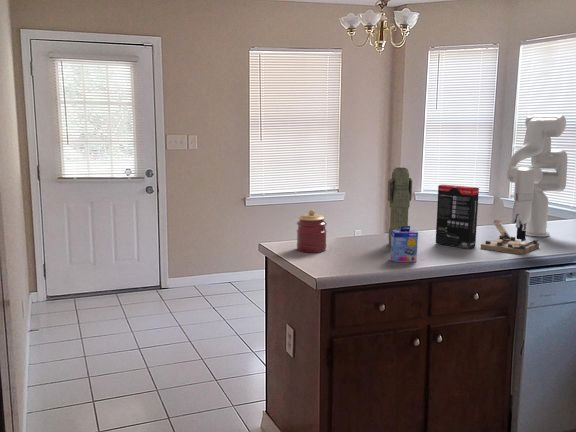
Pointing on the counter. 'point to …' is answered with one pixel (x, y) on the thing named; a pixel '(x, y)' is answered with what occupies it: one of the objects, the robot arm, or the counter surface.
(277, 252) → the counter surface
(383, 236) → the counter surface
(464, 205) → the graphics card box
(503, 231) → the strap
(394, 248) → the ink cartridge box
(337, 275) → the counter surface
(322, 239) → the canister
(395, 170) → the green statue
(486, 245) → the latch board
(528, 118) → the robot arm
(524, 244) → the strap
